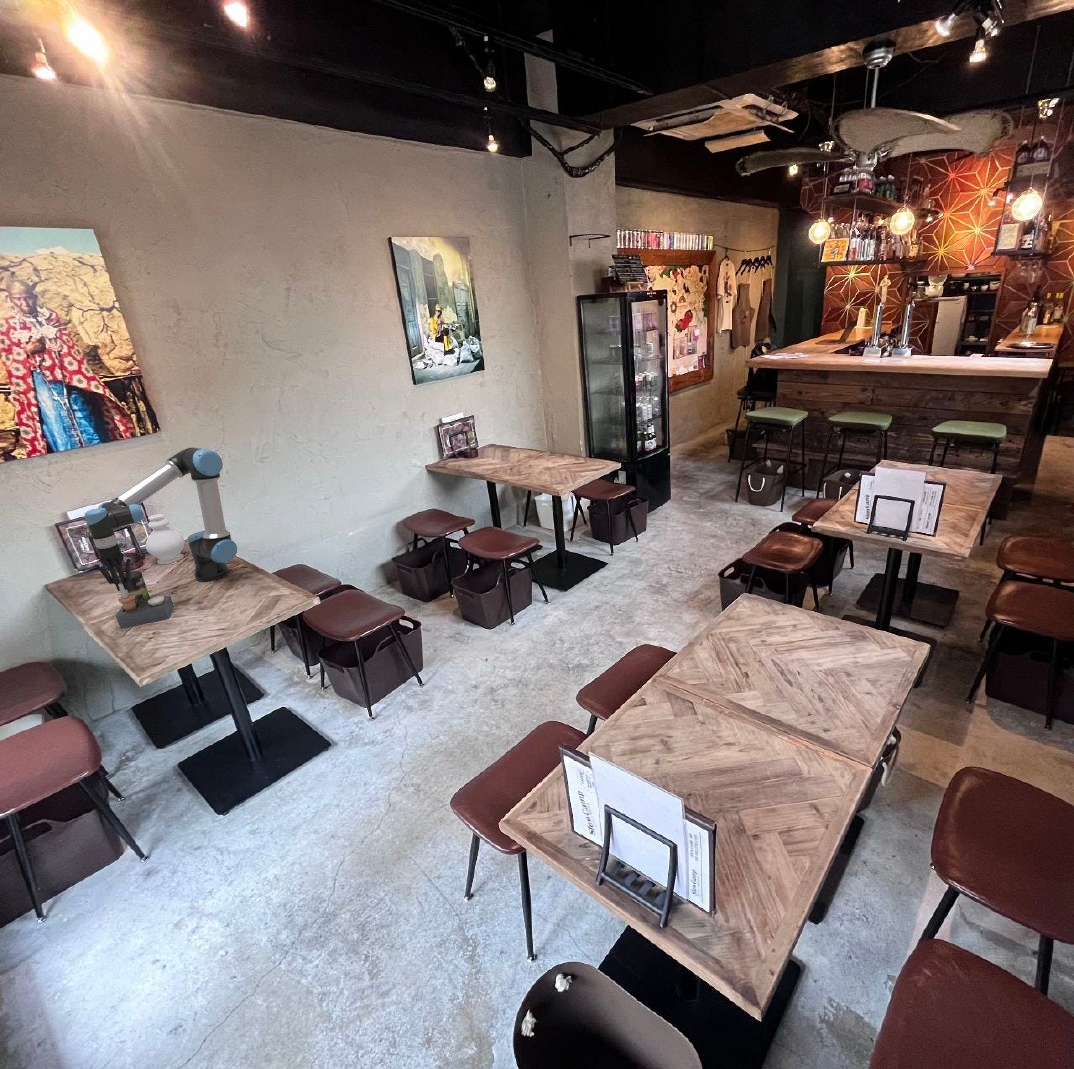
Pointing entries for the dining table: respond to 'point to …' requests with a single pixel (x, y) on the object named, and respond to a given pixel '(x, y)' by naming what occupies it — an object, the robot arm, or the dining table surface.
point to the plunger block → (145, 613)
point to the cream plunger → (156, 600)
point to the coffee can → (137, 586)
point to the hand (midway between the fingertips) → (126, 596)
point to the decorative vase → (164, 540)
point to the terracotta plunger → (128, 602)
